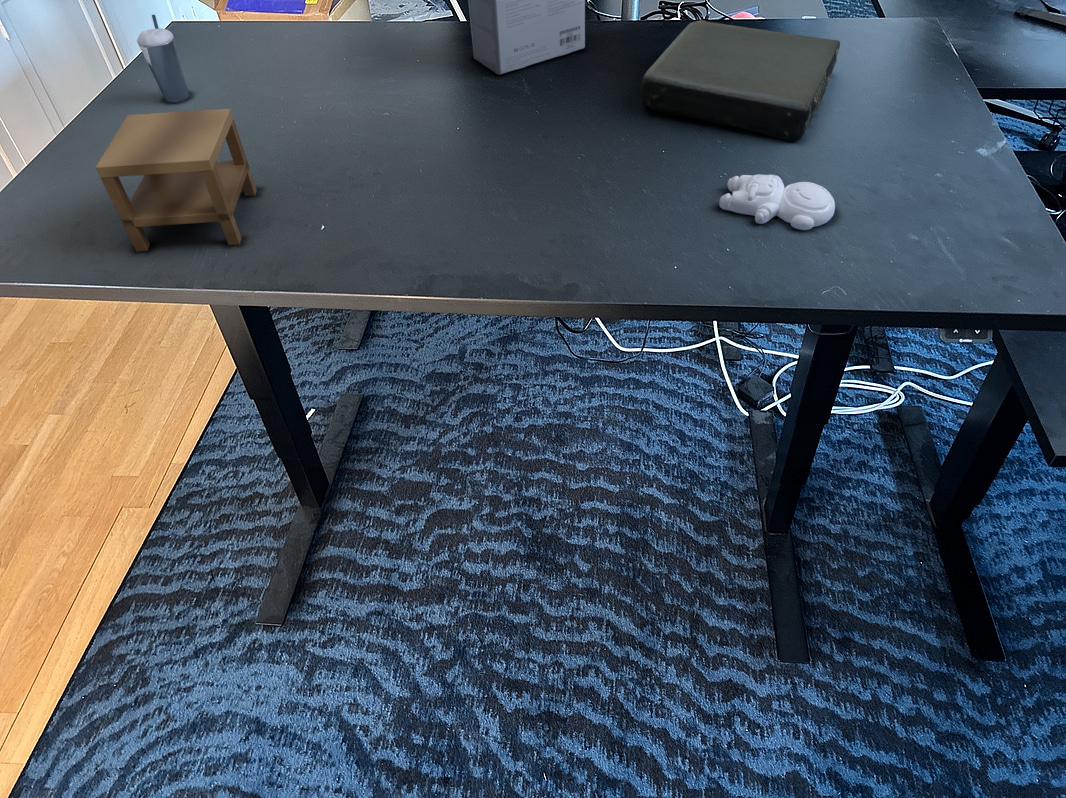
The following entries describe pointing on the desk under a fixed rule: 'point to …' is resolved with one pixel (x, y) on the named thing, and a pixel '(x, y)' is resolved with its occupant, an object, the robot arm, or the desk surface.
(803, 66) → the network switch
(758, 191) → the astronaut figurine
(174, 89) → the milkshake
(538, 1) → the hard drive box
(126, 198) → the wooden side table
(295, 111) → the desk surface
